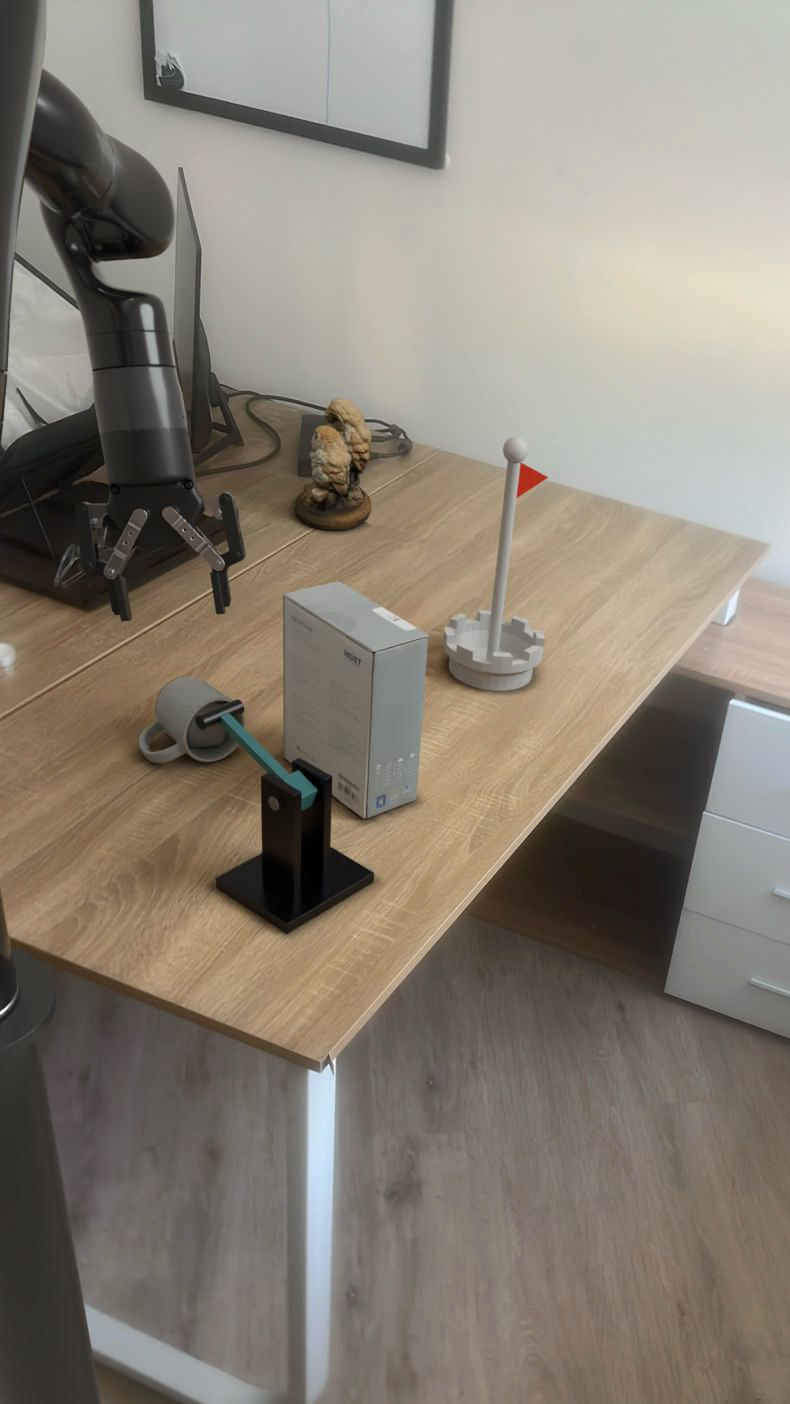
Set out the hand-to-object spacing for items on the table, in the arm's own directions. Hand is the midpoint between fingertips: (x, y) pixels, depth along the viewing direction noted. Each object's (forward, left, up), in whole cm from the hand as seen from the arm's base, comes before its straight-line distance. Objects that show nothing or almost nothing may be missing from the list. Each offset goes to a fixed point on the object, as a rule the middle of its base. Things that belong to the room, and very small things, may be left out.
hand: (174, 617), depth 117 cm
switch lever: (+1, -9, -12) cm, 15 cm away
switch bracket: (+1, -15, -24) cm, 28 cm away
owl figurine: (+74, +51, -24) cm, 93 cm away
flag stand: (+52, +1, -24) cm, 58 cm away
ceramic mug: (+10, +11, -24) cm, 28 cm away
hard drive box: (+19, -5, -24) cm, 31 cm away
